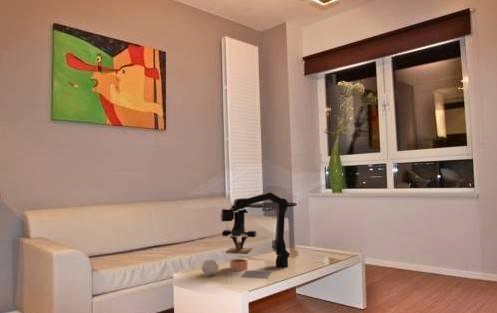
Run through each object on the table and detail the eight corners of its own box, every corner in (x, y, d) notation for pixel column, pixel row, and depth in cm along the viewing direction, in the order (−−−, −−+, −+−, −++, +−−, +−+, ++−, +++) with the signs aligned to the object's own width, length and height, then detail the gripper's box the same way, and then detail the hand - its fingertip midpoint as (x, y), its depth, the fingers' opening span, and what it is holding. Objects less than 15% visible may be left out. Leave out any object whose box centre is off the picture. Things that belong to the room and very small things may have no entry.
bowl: (249, 268, 210) (249, 259, 210) (245, 272, 200) (245, 263, 201) (232, 267, 212) (233, 258, 212) (228, 271, 203) (228, 262, 203)
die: (216, 273, 200) (205, 259, 201) (224, 268, 194) (213, 253, 195) (206, 282, 193) (195, 267, 194) (214, 277, 188) (203, 261, 189)
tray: (271, 273, 199) (271, 272, 199) (267, 280, 185) (267, 278, 186) (246, 271, 202) (246, 270, 202) (240, 278, 189) (240, 277, 189)
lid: (251, 250, 211) (251, 241, 212) (247, 254, 200) (247, 244, 200) (231, 249, 214) (231, 240, 214) (226, 253, 202) (226, 244, 202)
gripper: (219, 222, 202) (219, 250, 201) (252, 223, 198) (252, 252, 197) (225, 220, 213) (224, 247, 212) (256, 220, 209) (256, 248, 208)
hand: (239, 248), depth 207 cm, fingers closed on lid, 2 cm apart
